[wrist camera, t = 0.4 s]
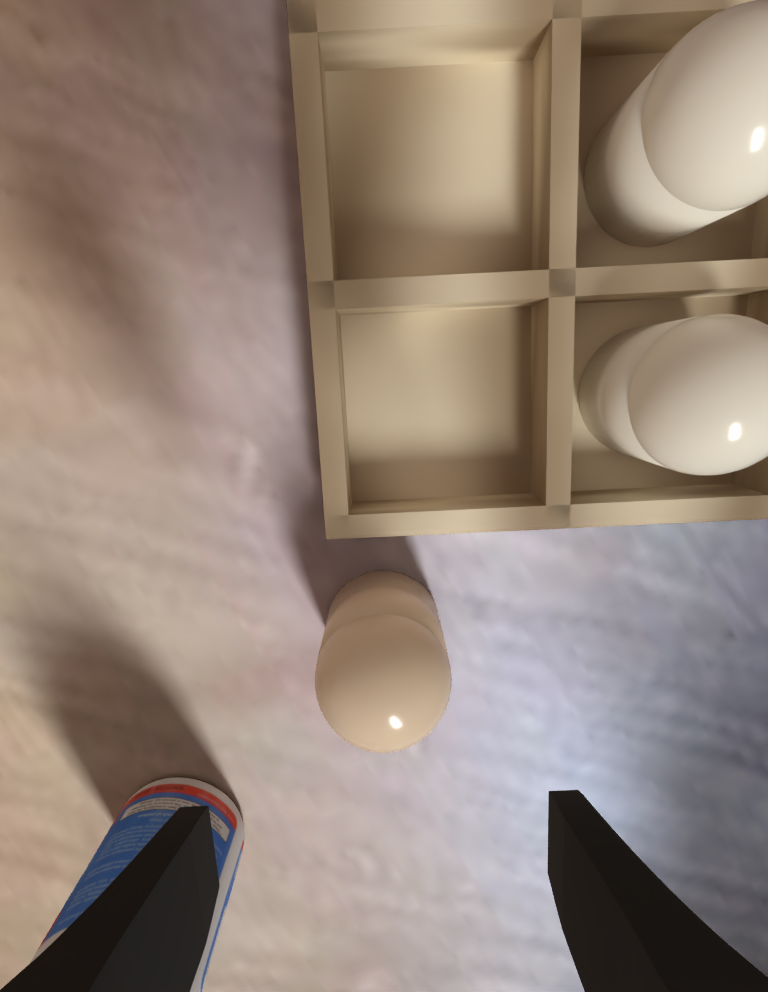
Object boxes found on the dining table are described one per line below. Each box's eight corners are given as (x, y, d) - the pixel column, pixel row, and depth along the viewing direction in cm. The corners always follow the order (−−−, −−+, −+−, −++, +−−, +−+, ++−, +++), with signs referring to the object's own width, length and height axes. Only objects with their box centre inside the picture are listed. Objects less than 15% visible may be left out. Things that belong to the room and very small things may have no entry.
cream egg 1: (725, 93, 17) (911, -60, 11) (715, 243, 18) (882, 175, 12) (586, 101, 17) (696, -48, 11) (582, 250, 18) (683, 186, 12)
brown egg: (437, 568, 21) (459, 644, 15) (440, 671, 22) (462, 782, 16) (323, 573, 21) (299, 651, 15) (331, 676, 22) (311, 789, 16)
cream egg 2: (709, 322, 19) (865, 298, 13) (699, 451, 20) (840, 485, 14) (580, 329, 19) (673, 308, 13) (576, 457, 20) (662, 494, 14)
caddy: (786, 25, 17) (852, -33, 15) (743, 500, 21) (791, 517, 18) (299, 53, 18) (285, 0, 15) (332, 520, 21) (326, 539, 18)
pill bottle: (105, 783, 23) (-90, 1068, 14) (228, 761, 23) (118, 1034, 13) (143, 889, 24) (-13, 1219, 15) (261, 869, 24) (180, 1191, 15)
